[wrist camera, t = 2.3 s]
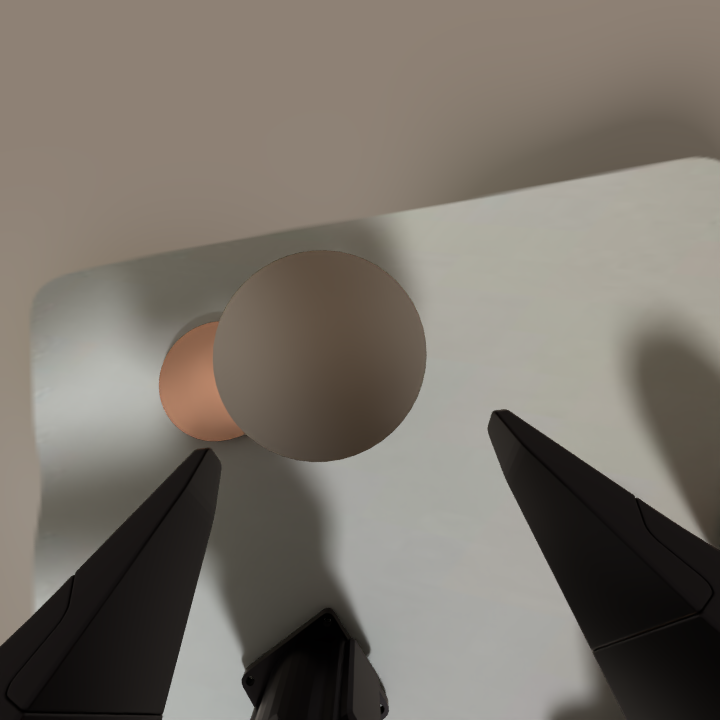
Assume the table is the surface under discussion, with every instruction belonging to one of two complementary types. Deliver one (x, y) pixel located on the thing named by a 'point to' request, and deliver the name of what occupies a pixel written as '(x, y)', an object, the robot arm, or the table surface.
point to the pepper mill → (319, 356)
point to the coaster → (195, 388)
